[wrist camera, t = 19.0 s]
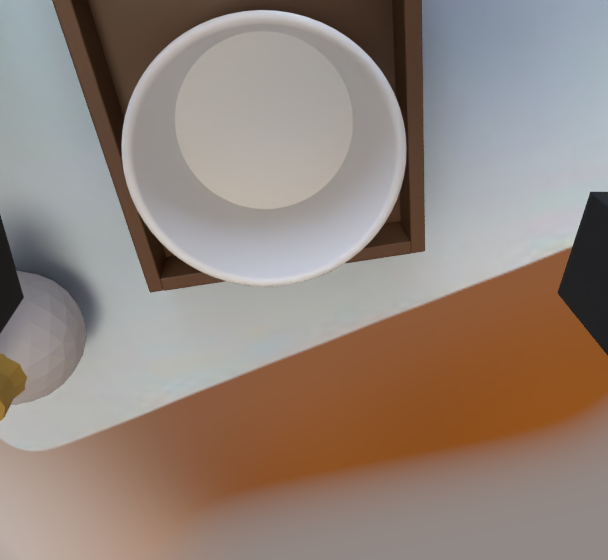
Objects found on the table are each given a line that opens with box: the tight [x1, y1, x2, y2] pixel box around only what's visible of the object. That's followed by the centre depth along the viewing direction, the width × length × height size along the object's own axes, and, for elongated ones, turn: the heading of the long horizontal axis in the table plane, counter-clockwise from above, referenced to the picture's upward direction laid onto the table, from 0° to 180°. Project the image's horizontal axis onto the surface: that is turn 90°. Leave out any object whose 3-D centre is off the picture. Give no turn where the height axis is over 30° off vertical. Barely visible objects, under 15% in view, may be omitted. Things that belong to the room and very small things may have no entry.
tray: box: [52, 0, 425, 292], centre depth 28 cm, size 16×16×3 cm
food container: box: [121, 10, 407, 287], centre depth 26 cm, size 12×12×6 cm
